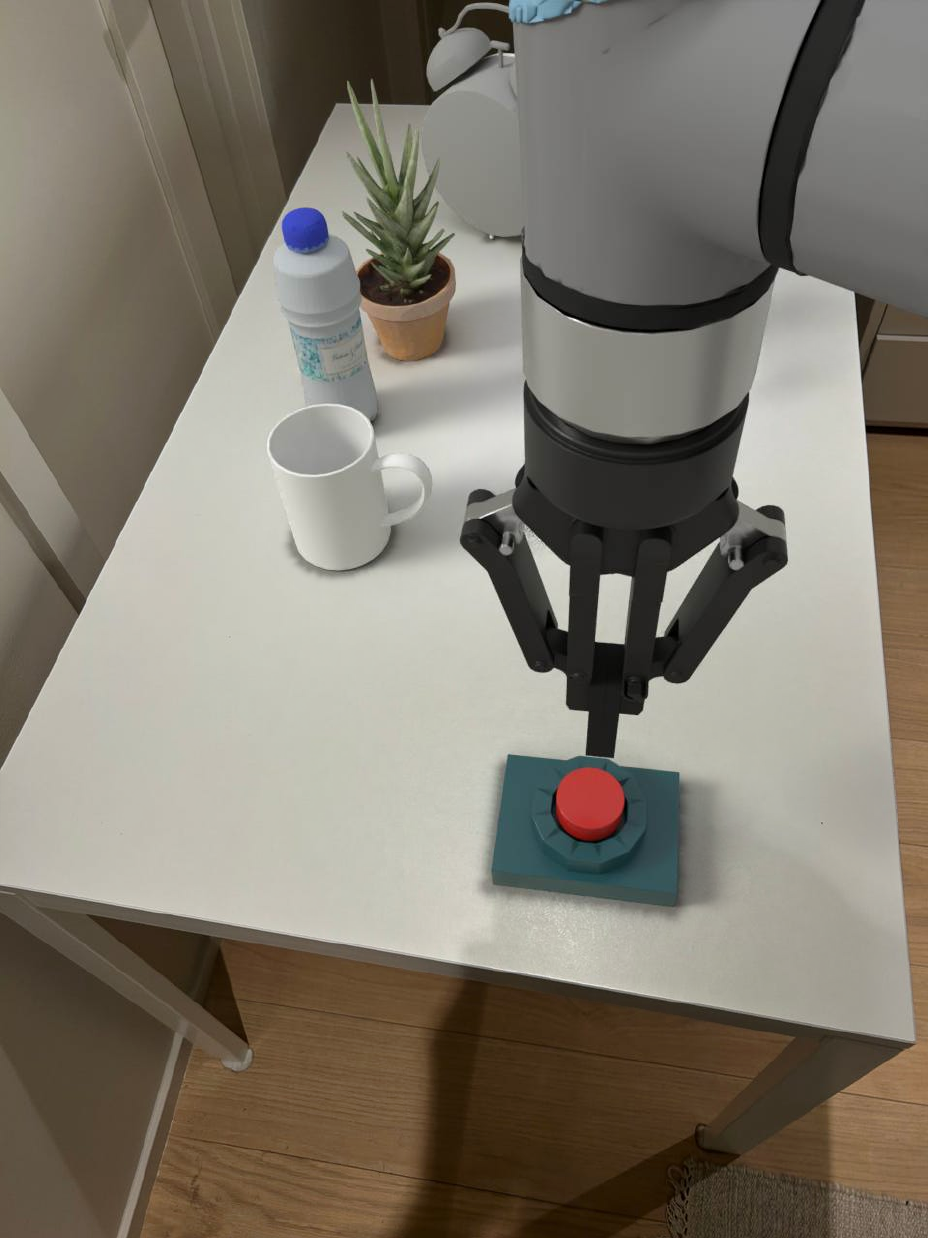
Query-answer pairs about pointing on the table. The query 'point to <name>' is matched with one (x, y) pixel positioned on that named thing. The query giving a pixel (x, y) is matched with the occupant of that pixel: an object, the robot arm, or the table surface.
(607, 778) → the button
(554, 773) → the teal button base
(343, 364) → the bottle
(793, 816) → the table surface
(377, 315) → the potted plant
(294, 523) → the mug
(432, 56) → the alarm clock
